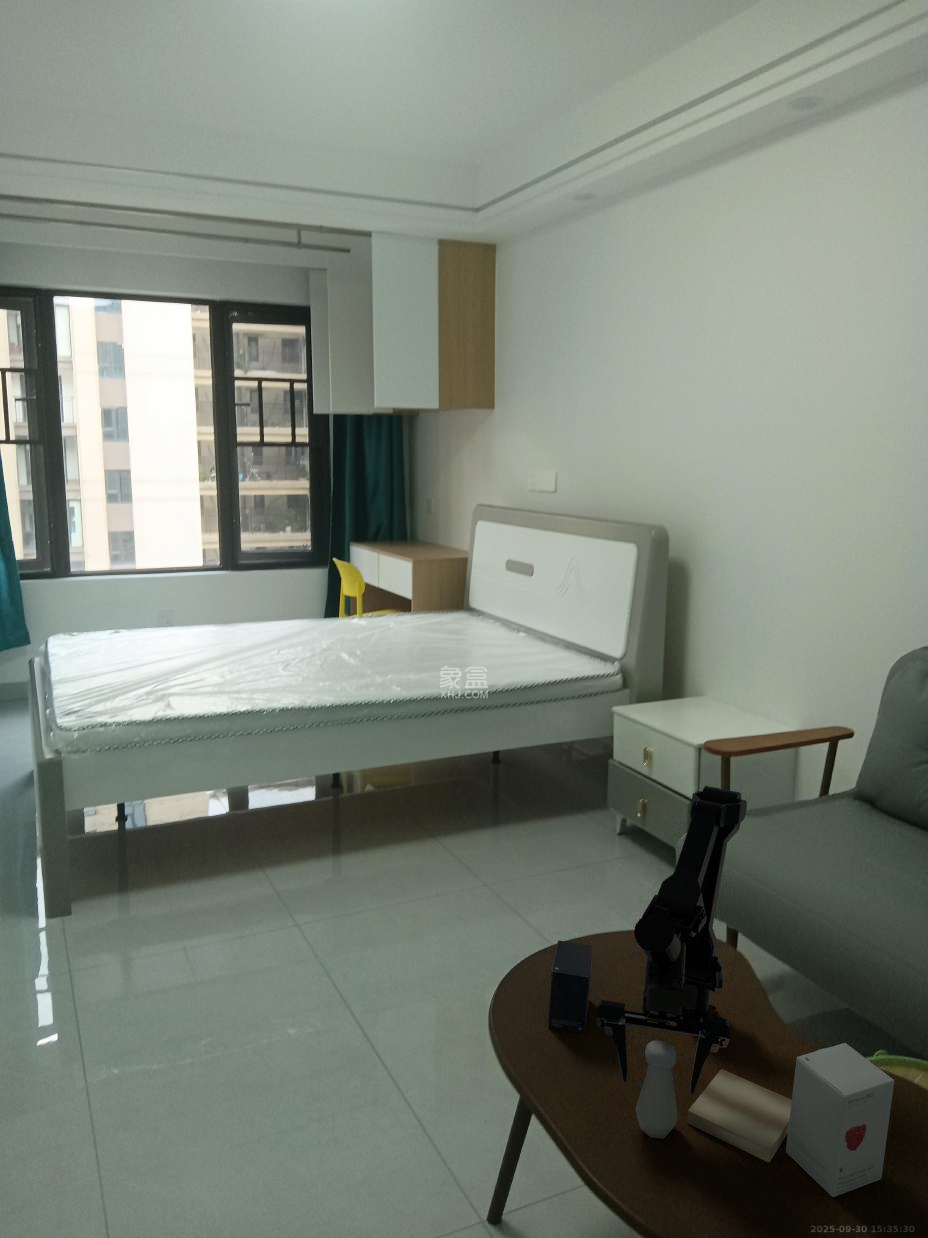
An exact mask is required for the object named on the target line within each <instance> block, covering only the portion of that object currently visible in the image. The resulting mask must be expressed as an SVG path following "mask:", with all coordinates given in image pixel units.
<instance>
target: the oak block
mask: <svg viewBox="0 0 928 1238" xmlns="http://www.w3.org/2000/svg"><path fill="white" fill-rule="evenodd" d="M791 1103H792V1098H789V1097H786V1096H784V1095H782V1094H779V1093H777V1092H774V1091H772V1090H771V1089H768V1088H765V1087H764V1086H762V1085H759V1084H757V1083H755V1082H752V1081H750V1080H747V1079H745V1078H743V1077H741V1076H739V1075H737V1074H734V1073H731V1072H729V1071H727V1070H725V1069H722V1068H720V1070H719V1071H718V1073H717V1074H716V1075H714V1077H713V1079H712V1080H711V1081H710V1082H709V1084H708V1085H707V1086H706V1087H705V1089H704V1090H703V1091H702V1093H700V1095H699V1096H698V1098H697V1099H696V1100H695V1101H694V1103H693V1104H692V1105H691V1106H690V1108H689V1109H688V1110H687V1119H686V1121H687V1122H686V1124H689V1125H690V1126H692V1127H694V1128H696V1129H698V1130H701V1131H703V1132H705V1133H707V1134H708V1135H711V1136H713V1137H715V1138H717V1139H719V1140H721V1141H723V1142H725V1143H727V1144H730V1145H731V1146H733V1147H735V1148H737V1149H740V1150H742V1151H744V1152H746V1153H748V1154H749V1155H752V1156H753V1157H756V1158H758V1159H760V1160H762V1161H765V1162H766V1163H770V1162H771V1160H772V1159H773V1158H774V1157H775V1154H776V1153H777V1151H778V1150H779V1148H780V1146H781V1145H782V1144H783V1141H784V1139H785V1138H786V1137H787V1136H788V1128H789V1119H790V1111H791Z"/></svg>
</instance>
